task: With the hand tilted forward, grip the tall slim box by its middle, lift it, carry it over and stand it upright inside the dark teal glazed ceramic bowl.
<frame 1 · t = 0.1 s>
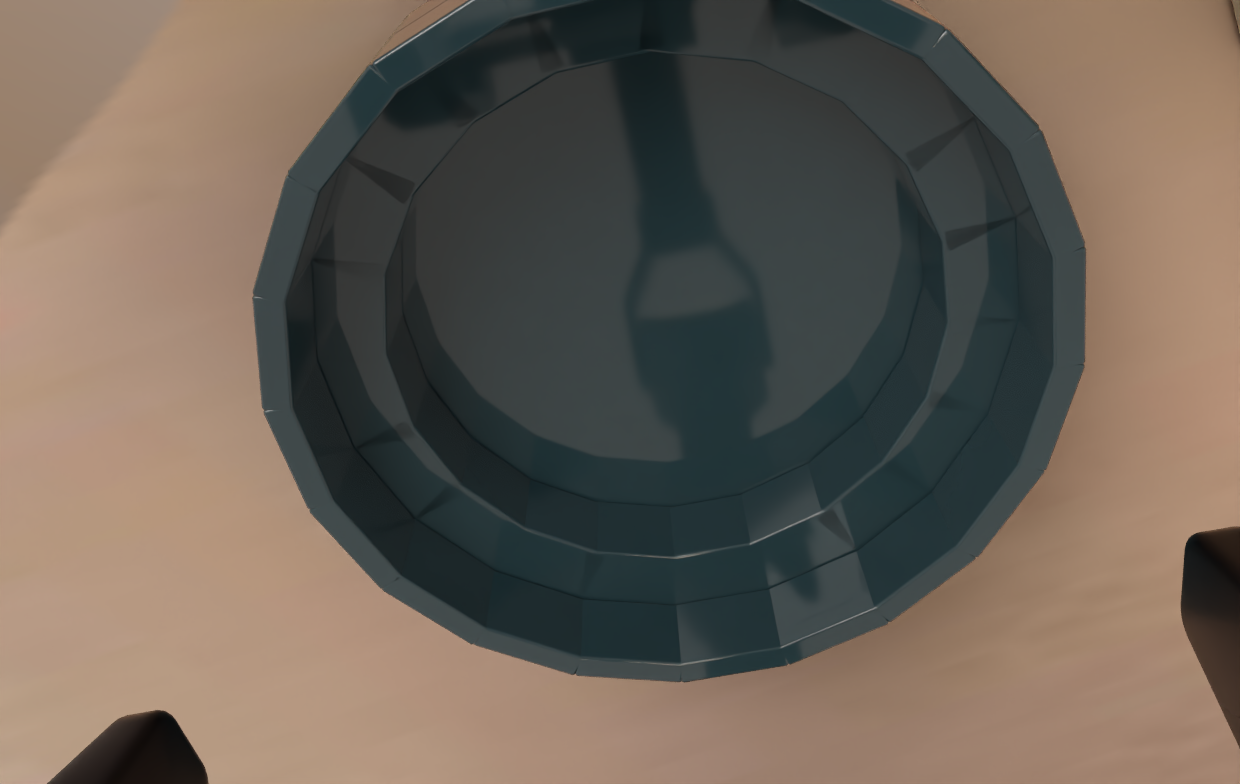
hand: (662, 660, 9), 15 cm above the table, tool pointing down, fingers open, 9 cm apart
bowl: (659, 285, 23), on the table
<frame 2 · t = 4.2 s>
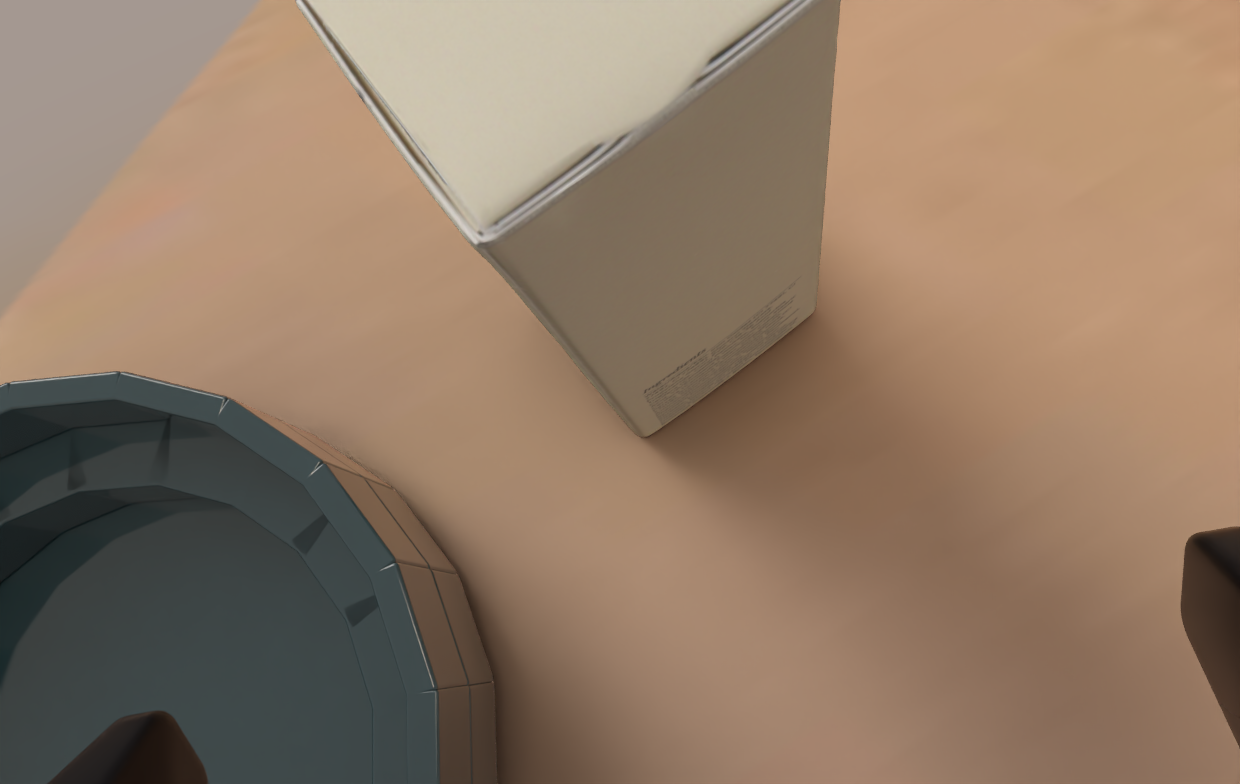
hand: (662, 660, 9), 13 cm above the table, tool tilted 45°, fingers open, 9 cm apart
box: (670, 316, 24), on the table
bowl: (171, 754, 23), on the table
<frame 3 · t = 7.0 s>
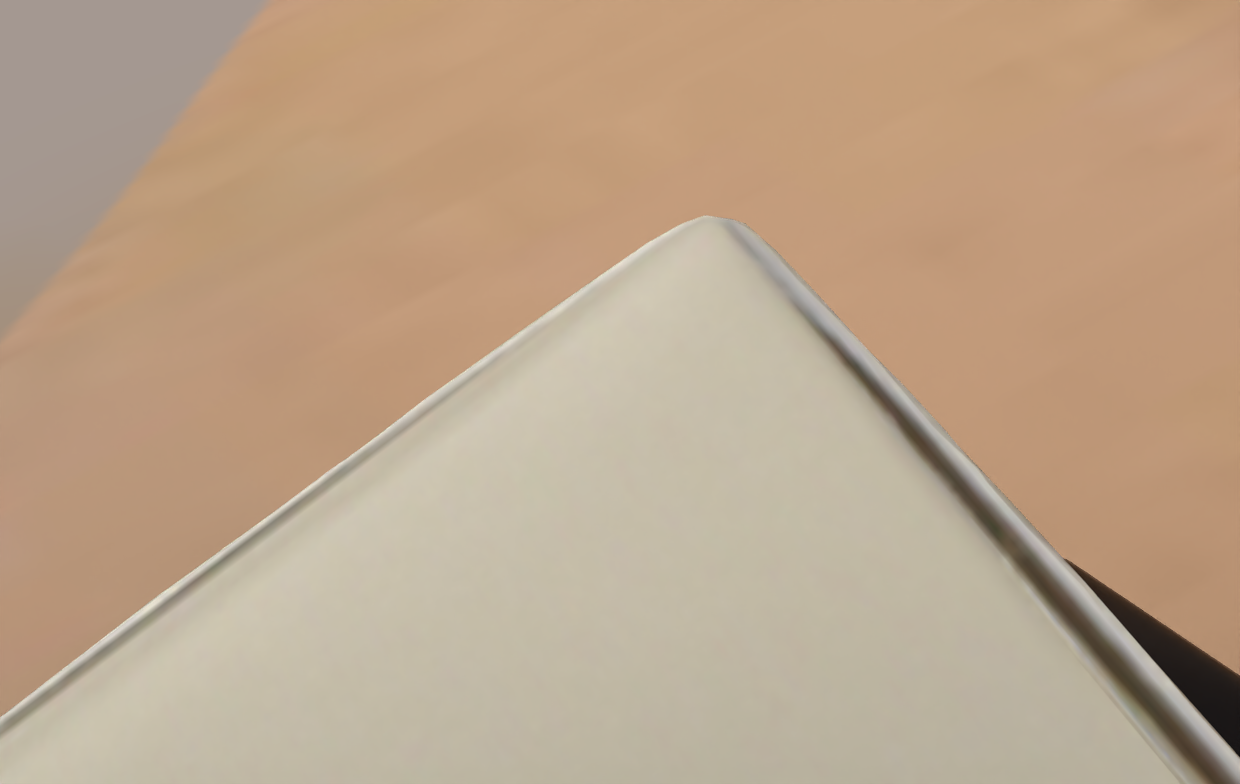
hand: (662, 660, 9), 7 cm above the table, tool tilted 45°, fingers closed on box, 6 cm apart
box: (726, 749, 15), on the table, touching gripper
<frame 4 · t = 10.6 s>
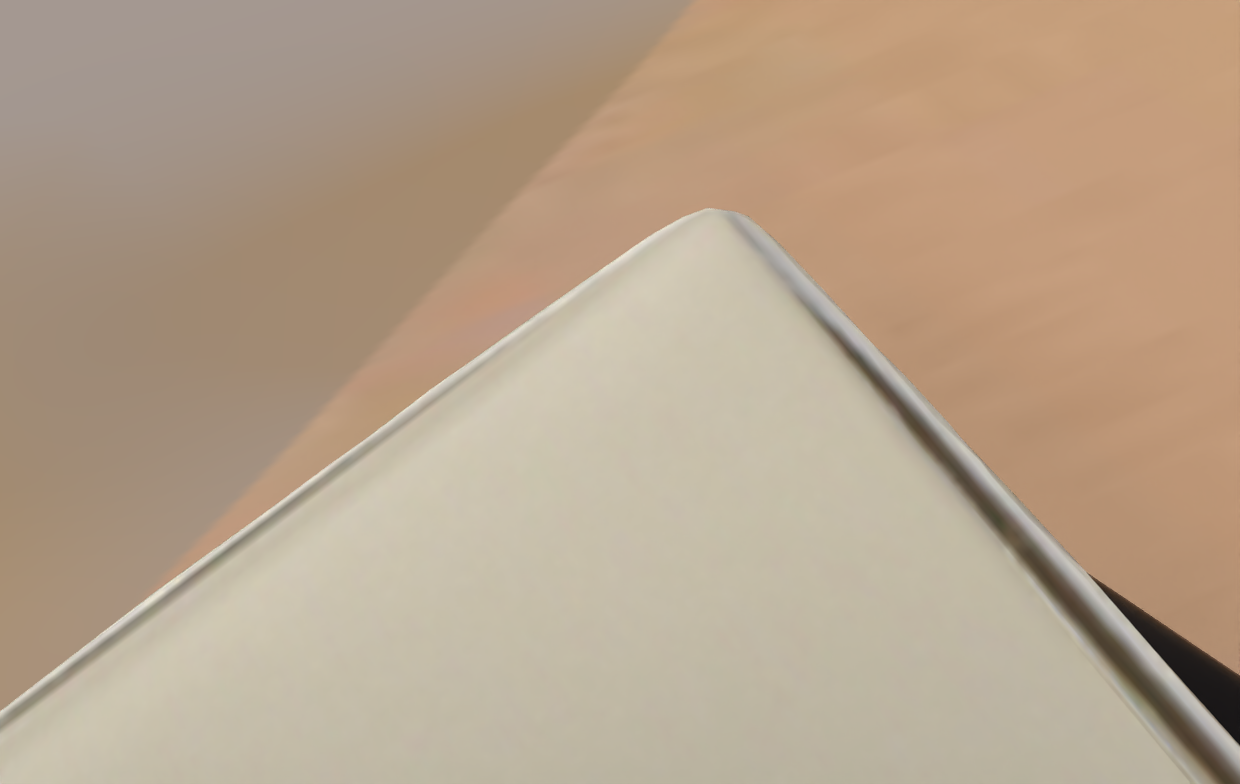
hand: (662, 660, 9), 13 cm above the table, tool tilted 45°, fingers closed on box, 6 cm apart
box: (726, 747, 15), point 7 cm above the table, touching gripper
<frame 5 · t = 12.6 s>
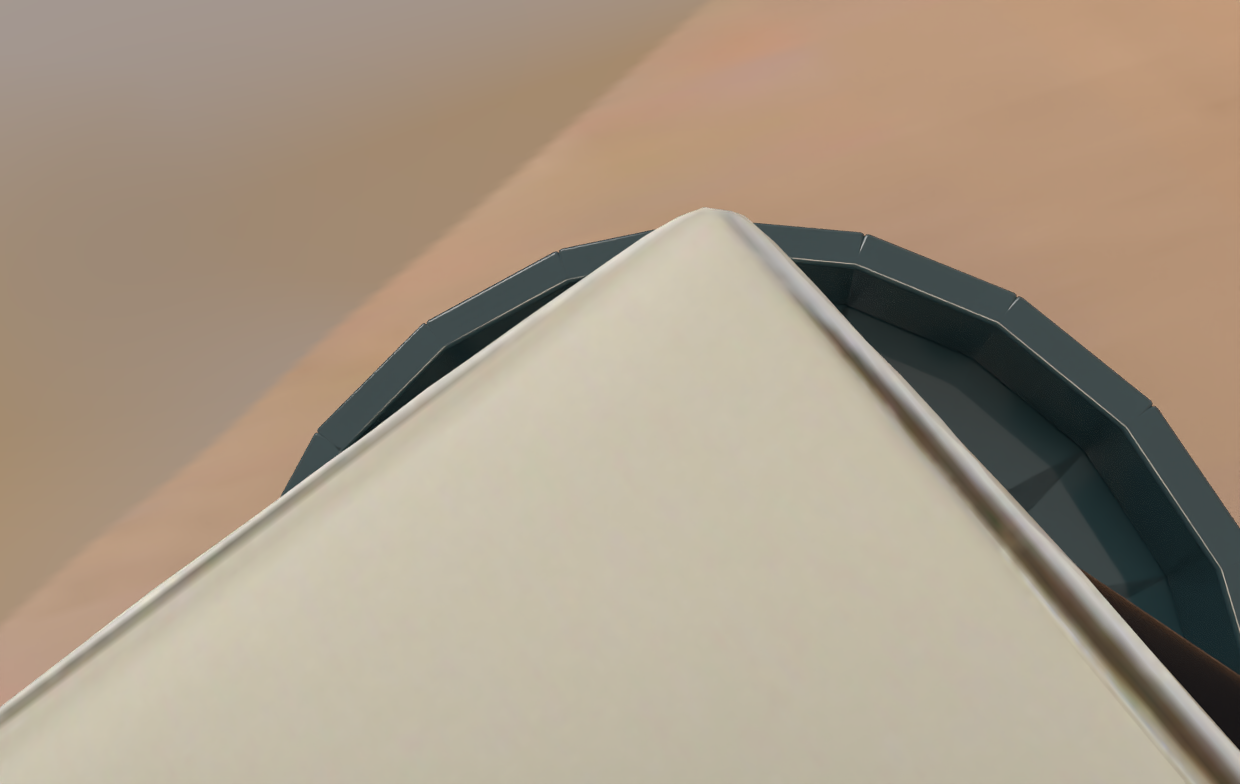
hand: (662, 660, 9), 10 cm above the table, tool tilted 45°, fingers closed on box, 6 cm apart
box: (725, 748, 15), point 4 cm above the table, touching gripper
bowl: (732, 711, 19), on the table
when the fingers open (7 cm above the table, at t = 14.1 s): box stays where it is, resting on bowl.
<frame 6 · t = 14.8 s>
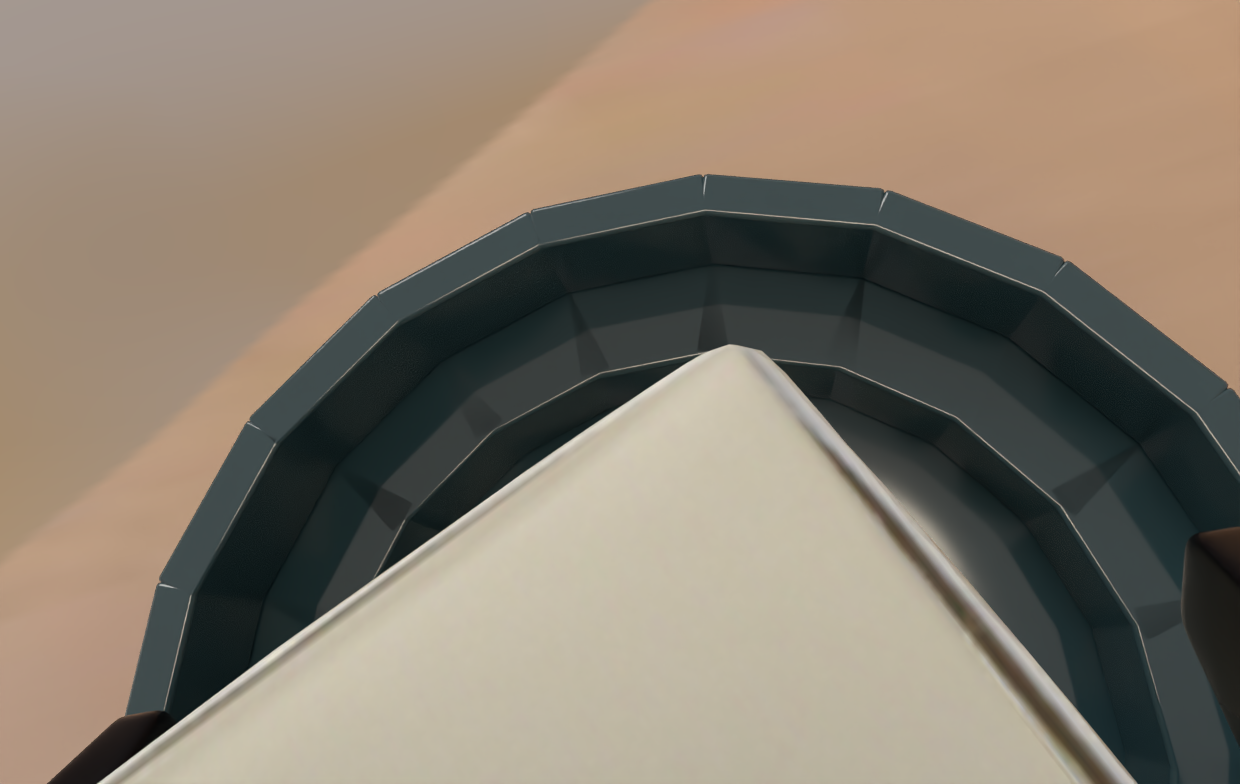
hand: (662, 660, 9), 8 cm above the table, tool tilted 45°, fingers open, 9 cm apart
box: (730, 756, 16), resting on bowl
bowl: (732, 744, 17), on the table
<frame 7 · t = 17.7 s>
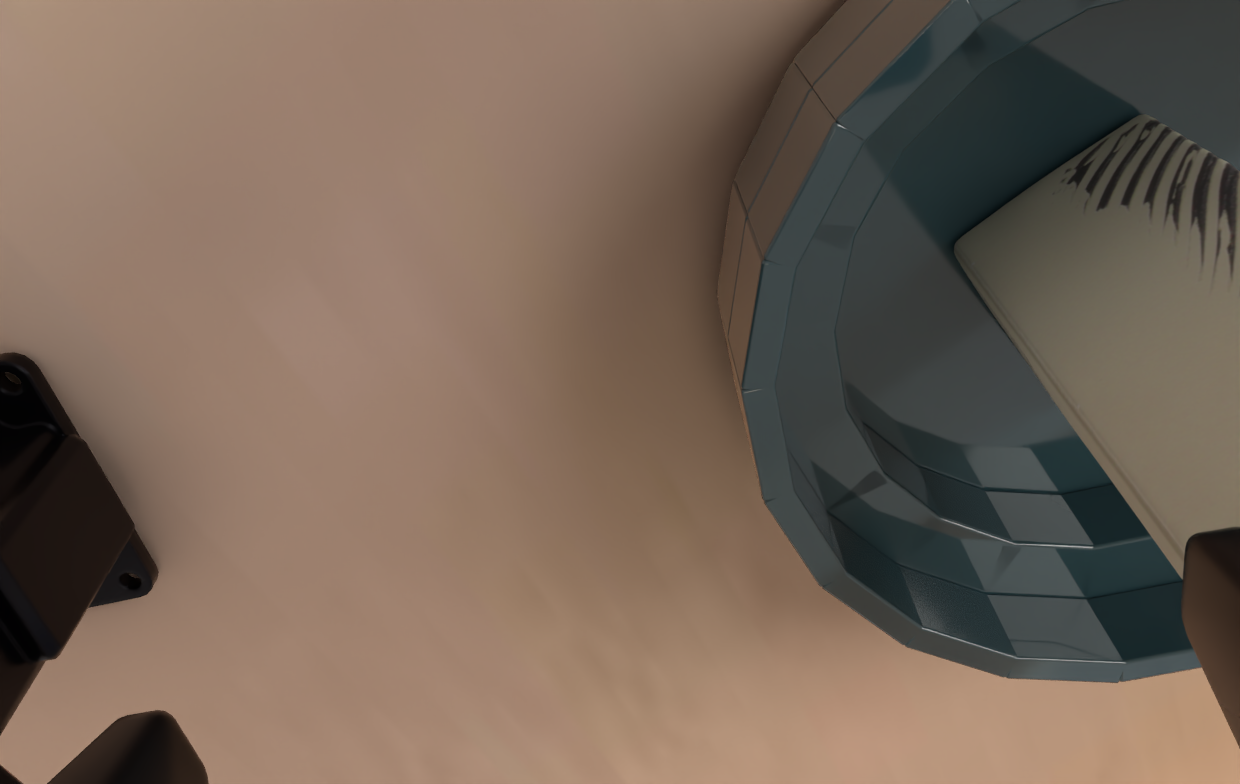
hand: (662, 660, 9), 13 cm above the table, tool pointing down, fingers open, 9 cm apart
box: (1087, 259, 21), resting on bowl
bowl: (1086, 252, 22), on the table
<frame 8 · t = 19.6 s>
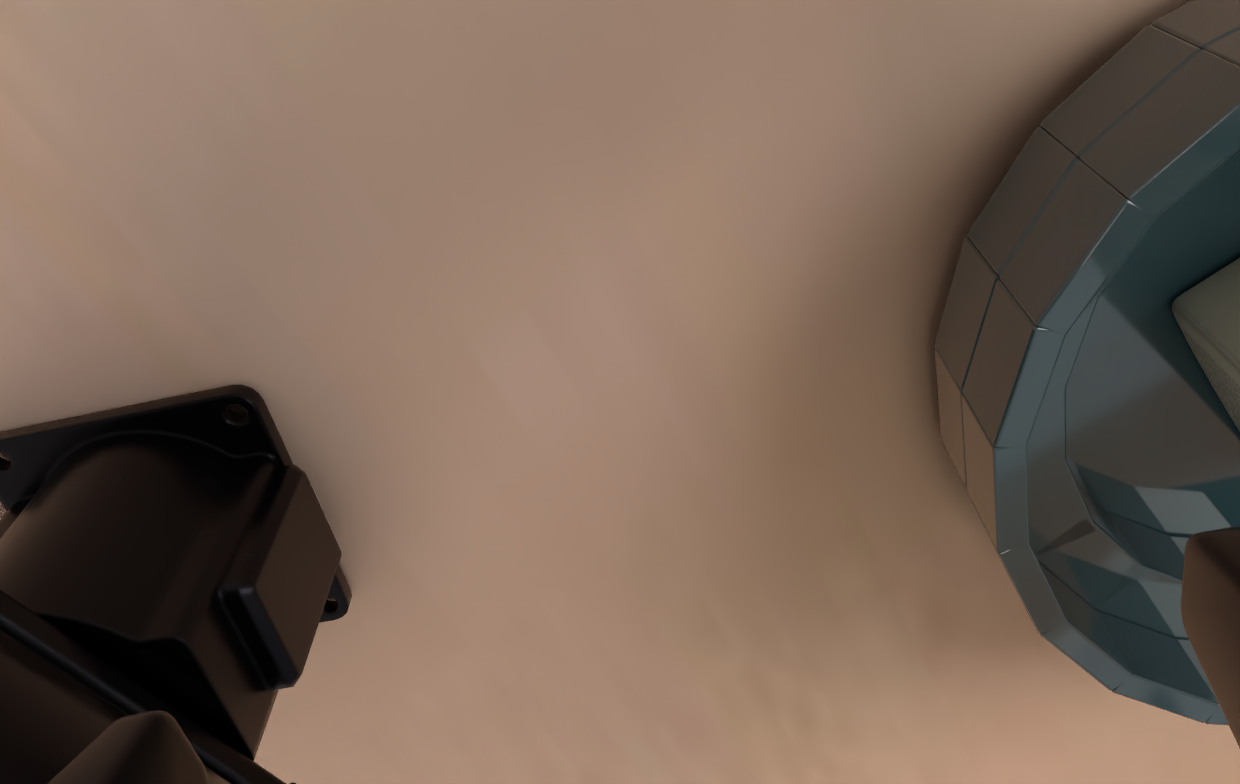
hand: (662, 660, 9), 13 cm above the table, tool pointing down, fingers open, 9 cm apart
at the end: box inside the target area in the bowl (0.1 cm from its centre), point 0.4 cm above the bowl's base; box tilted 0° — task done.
